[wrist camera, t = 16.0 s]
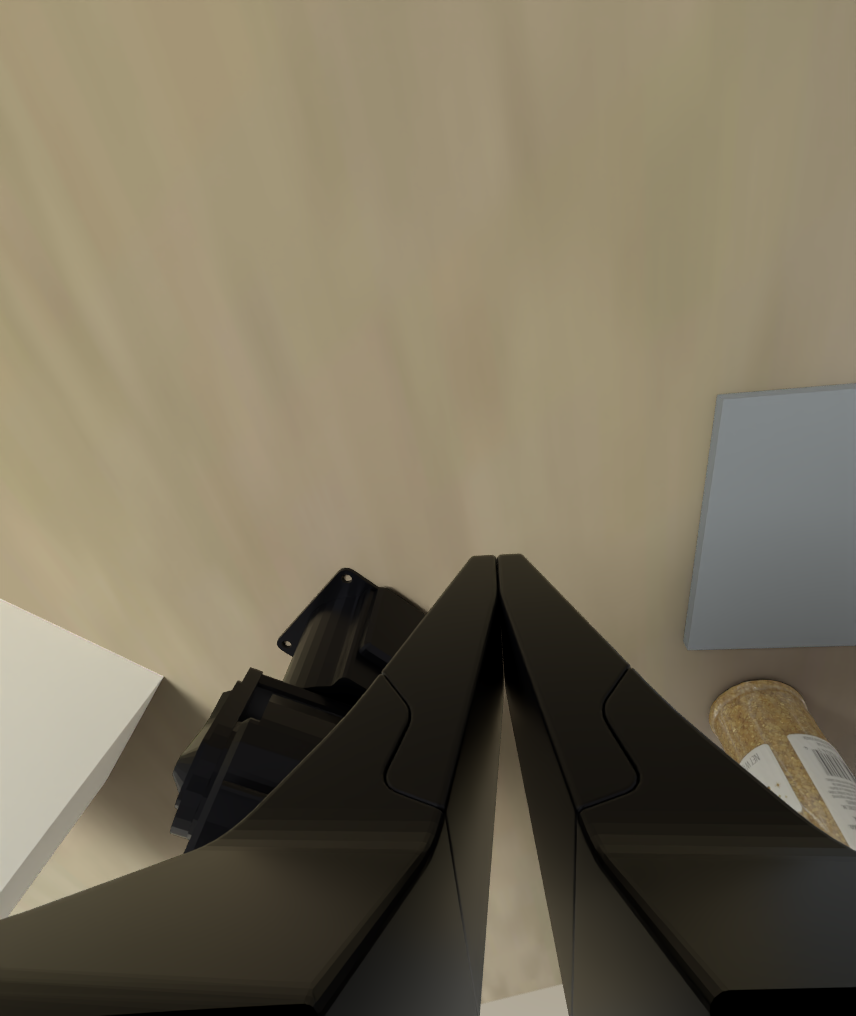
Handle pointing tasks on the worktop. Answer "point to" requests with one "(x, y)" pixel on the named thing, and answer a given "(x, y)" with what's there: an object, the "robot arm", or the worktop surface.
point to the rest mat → (777, 523)
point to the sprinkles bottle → (787, 753)
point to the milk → (56, 736)
